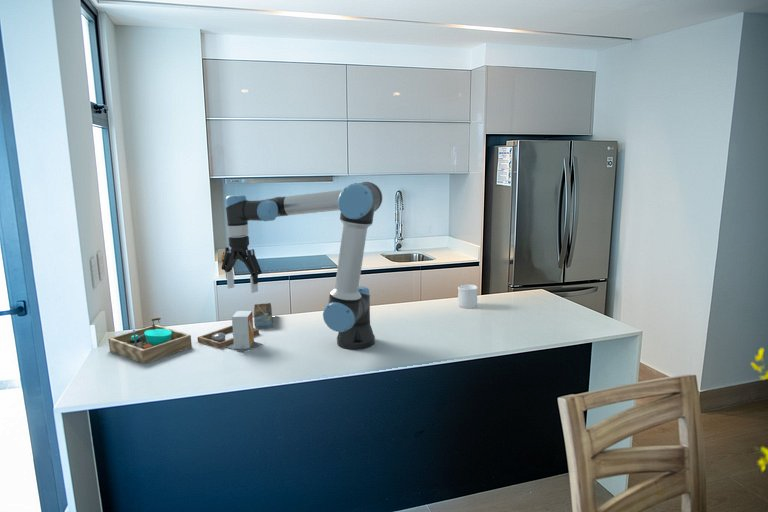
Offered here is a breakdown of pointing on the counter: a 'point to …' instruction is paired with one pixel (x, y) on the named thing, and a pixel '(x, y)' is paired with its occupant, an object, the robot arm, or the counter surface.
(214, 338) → the tin
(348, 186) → the robot arm
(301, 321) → the counter surface
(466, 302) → the cup
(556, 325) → the counter surface
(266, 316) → the beverage carton
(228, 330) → the frame
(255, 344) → the mat
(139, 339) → the contraption on wooden base
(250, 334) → the small box
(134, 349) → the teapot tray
